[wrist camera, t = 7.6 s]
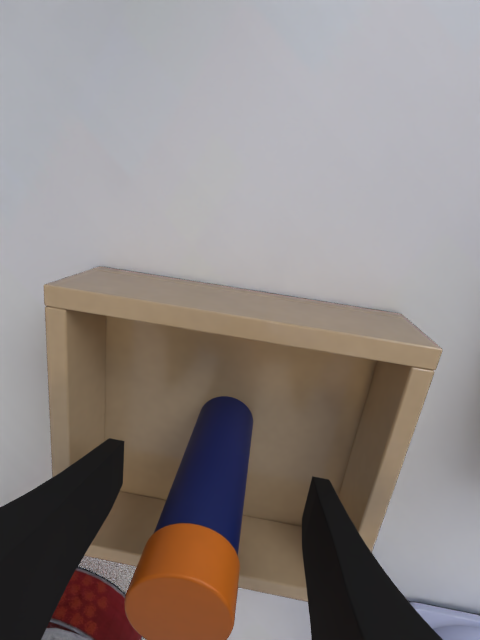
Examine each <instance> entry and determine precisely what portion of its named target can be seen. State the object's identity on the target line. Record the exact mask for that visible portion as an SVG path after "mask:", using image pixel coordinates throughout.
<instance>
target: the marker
mask: <svg viewBox="0 0 480 640" xmlns="http://www.w3.org/2000/svg"><path fill="white" fill-rule="evenodd" d="M252 430H253V416H252V413H251V411H250V410H249V408H248V407H247V406H246V405H245V404H244V403H243V402H241V401H240V400H238V399H236V398H233V397H228V396H220V397H216V398H213V399H211V400H209V401H208V402H206V403H205V404H204V406H203V407H202V409H201V411H200V413H199V416H198V419H197V421H196V424H195V427H194V429H193V432H192V434H191V437H190V440H189V442H188V445H187V447H186V450H185V453H184V455H183V458H182V460H181V463H180V466H179V468H178V471H177V474H176V476H175V479H174V481H173V484H172V487H171V489H170V492H169V494H168V497H167V500H166V502H165V505H164V508H163V510H162V513H161V515H160V518H159V521H158V523H157V526H156V528H155V531H154V534H153V535H152V536H151V537H150V538H149V539H148V541H147V543H146V545H145V547H144V550H143V552H142V555H141V557H140V560H139V562H138V565H137V568H136V570H135V573H134V575H133V578H132V580H131V583H130V585H129V588H128V590H127V593H126V596H125V613H126V616H127V618H128V620H129V622H130V624H131V625H132V627H133V628H134V629H135V630H136V631H137V632H138V633H139V634H140V635H141V636H142V637H143V638H145V639H146V640H227V638H228V637H229V635H230V633H231V631H232V629H233V626H234V619H235V610H236V600H237V591H238V581H239V572H240V562H239V559H238V550H239V542H240V533H241V524H242V516H243V507H244V498H245V490H246V481H247V473H248V464H249V455H250V447H251V438H252Z"/></svg>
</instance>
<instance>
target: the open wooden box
mask: <svg viewBox="0 0 480 640" xmlns="http://www.w3.org/2000/svg"><path fill="white" fill-rule="evenodd" d="M44 304H45V306H46V307H45V321H46V344H47V366H48V388H49V410H50V433H51V455H52V477H54V476H56V475H57V474H59V473H60V472H62V471H63V470H65V469H66V468H68V467H69V466H71V465H72V464H73V463H75V462H76V461H78V460H79V459H81V458H82V457H83V456H85V455H86V454H88V453H89V452H90V451H92V450H93V449H95V448H96V447H97V446H99V445H100V444H101V443H103V442H104V441H106V440H107V439H109V438H111V439H116V440H122V441H124V467H123V485H122V487H121V489H120V491H119V494H118V496H117V498H116V500H115V503H114V505H113V507H112V509H111V511H110V513H109V514H108V516H107V518H106V520H105V521H104V523H103V525H102V526H101V528H100V530H99V531H98V533H97V535H96V536H95V538H94V540H93V542H92V543H91V545H90V547H89V548H88V550H87V552H86V553H85V555H84V556H88V557H93V558H98V559H102V560H107V561H112V562H117V563H122V564H127V565H132V566H136V567H137V565H138V562H139V560H140V557H141V555H142V552H143V550H144V547H145V545H146V543H147V541H148V539H149V538H150V537H151V536H152V535H153V534H154V531H155V528H156V526H157V523H158V521H159V518H160V515H161V513H162V510H163V508H164V505H165V502H166V500H167V497H168V494H169V492H170V489H171V487H172V484H173V481H174V479H175V476H176V474H177V471H178V468H179V466H180V463H181V460H182V458H183V455H184V453H185V450H186V447H187V445H188V442H189V440H190V437H191V434H192V432H193V429H194V427H195V424H196V421H197V419H198V416H199V413H200V411H201V409H202V407H203V406H204V404H205V403H206V402H208V401H209V400H211V399H213V398H216V397H220V396H228V397H233V398H236V399H238V400H240V401H241V402H243V403H244V404H245V405H246V406H247V407H248V408H249V410H250V411H251V413H252V416H253V430H252V438H251V447H250V455H249V464H248V473H247V481H246V490H245V498H244V507H243V516H242V524H241V533H240V542H239V550H238V559H239V562H240V572H239V581H238V588H243V589H248V590H253V591H258V592H262V593H267V594H272V595H277V596H282V597H287V598H292V599H296V600H301V601H306V602H308V596H307V588H306V579H305V571H304V562H303V553H302V516H303V512H304V508H305V504H306V500H307V496H308V492H309V488H310V484H311V480H312V476H313V477H319V478H324V479H329V480H330V482H331V483H332V485H333V487H334V489H335V491H336V493H337V495H338V497H339V499H340V501H341V503H342V505H343V506H344V508H345V510H346V512H347V514H348V515H349V517H350V519H351V521H352V522H353V524H354V526H355V527H356V529H357V531H358V532H359V534H360V536H361V537H362V539H363V540H364V542H365V544H366V545H367V547H368V548H369V550H370V551H371V553H372V550H373V548H374V545H375V542H376V539H377V536H378V533H379V530H380V527H381V525H382V522H383V519H384V516H385V513H386V510H387V507H388V505H389V502H390V499H391V496H392V493H393V490H394V487H395V484H396V482H397V479H398V476H399V473H400V470H401V467H402V464H403V461H404V459H405V456H406V453H407V450H408V447H409V444H410V441H411V438H412V436H413V433H414V430H415V427H416V424H417V421H418V418H419V415H420V413H421V410H422V407H423V404H424V401H425V398H426V395H427V393H428V390H429V387H430V384H431V381H432V378H433V375H434V370H436V368H437V365H438V362H439V359H440V356H441V353H442V348H441V347H440V346H438V345H437V344H436V343H435V342H434V341H433V340H431V339H430V338H429V337H428V336H427V335H426V334H424V333H423V332H422V331H421V330H420V329H419V328H418V327H416V326H415V325H414V324H413V323H412V322H411V321H409V320H408V319H407V318H406V317H405V316H404V315H403V314H400V313H393V312H387V311H381V310H374V309H368V308H362V307H355V306H349V305H342V304H336V303H330V302H323V301H317V300H311V299H304V298H298V297H291V296H285V295H279V294H272V293H266V292H260V291H253V290H247V289H241V288H234V287H228V286H221V285H215V284H209V283H202V282H196V281H190V280H183V279H177V278H171V277H164V276H158V275H151V274H145V273H139V272H132V271H126V270H120V269H113V268H107V267H100V266H99V267H96V268H93V269H90V270H87V271H84V272H81V273H78V274H75V275H72V276H69V277H66V278H63V279H60V280H57V281H54V282H51V283H48V284H45V285H44Z"/></svg>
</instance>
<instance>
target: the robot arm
mask: <svg viewBox="0 0 480 640" xmlns="http://www.w3.org/2000/svg"><path fill="white" fill-rule="evenodd" d="M123 467H124V441H122V440H116V439H111V438H109V439H107V440H106V441H104V442H103V443H101V444H100V445H99V446H97V447H96V448H95V449H93V450H92V451H90V452H89V453H88V454H86V455H85V456H83V457H82V458H81V459H79V460H78V461H76V462H75V463H73V464H72V465H71V466H69V467H68V468H66V469H65V470H63V471H62V472H60V473H59V474H57V475H56V476H54V477H53V478H51V479H50V480H48V481H46V482H45V483H43V484H42V485H40V486H38V487H37V488H35V489H33V490H32V491H30V492H28V493H27V494H25V495H23V496H21V497H19V498H17V499H16V500H14V501H12V502H10V503H8V504H6V505H4V506H2V507H0V640H41V639H42V637H43V635H44V632H45V630H46V628H47V626H48V624H49V622H50V620H51V618H52V615H53V613H54V611H55V609H56V607H57V605H58V603H59V601H60V599H61V597H62V595H63V593H64V591H65V589H66V587H67V585H68V583H69V581H70V579H71V577H72V575H73V574H74V572H75V570H76V568H77V567H78V565H79V563H80V562H81V560H82V558H83V557H84V555H85V553H86V552H87V550H88V548H89V547H90V545H91V543H92V542H93V540H94V538H95V536H96V535H97V533H98V531H99V530H100V528H101V526H102V525H103V523H104V521H105V520H106V518H107V516H108V514H109V513H110V511H111V509H112V507H113V505H114V503H115V500H116V498H117V496H118V494H119V491H120V489H121V487H122V485H123ZM302 553H303V562H304V571H305V579H306V588H307V596H308V605H309V613H310V623H311V635H312V640H480V615H476V614H471V613H466V612H461V611H456V610H451V609H446V608H441V607H436V606H432V605H427V604H422V603H417V602H410V603H409V602H408V601H407V599H406V598H405V597H404V596H403V595H402V593H401V592H400V591H399V590H398V588H397V587H396V586H395V585H394V583H393V582H392V581H391V579H390V578H389V577H388V575H387V574H386V573H385V571H384V570H383V569H382V567H381V566H380V564H379V563H378V562H377V560H376V559H375V557H374V556H373V554H372V553H371V551H370V550H369V548H368V547H367V545H366V544H365V542H364V540H363V539H362V537H361V536H360V534H359V532H358V531H357V529H356V527H355V526H354V524H353V522H352V521H351V519H350V517H349V515H348V514H347V512H346V510H345V508H344V506H343V505H342V503H341V501H340V499H339V497H338V495H337V493H336V491H335V489H334V487H333V485H332V483H331V482H330V480H329V479H324V478H319V477H313V476H312V480H311V484H310V488H309V492H308V496H307V500H306V504H305V508H304V512H303V516H302Z"/></svg>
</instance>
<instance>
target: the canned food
mask: <svg viewBox="0 0 480 640" xmlns="http://www.w3.org/2000/svg"><path fill="white" fill-rule="evenodd" d="M125 596H126V595H125V594H124V593H123V592H122V591H120V590H119V589H118V588H117V587H116V586H114V585H113V584H112V583H110V582H108V581H107V580H105V579H104V578H102V577H100V576H98V575H96V574H93V573H91V572H89V571H87V570H83V569H80V568H76V570H75V572H74V574H73V575H72V577H71V579H70V581H69V583H68V585H67V587H66V589H65V591H64V593H63V595H62V597H61V599H60V601H59V603H58V605H57V607H56V609H55V611H54V613H53V615H52V618H51V620H50V622H49V624H48V626H47V628H46V630H45V632H44V635H43V637H42V639H41V640H141V639H142V636H141V635H140V634H139V633H138V632H137V631H136V630H135V629H134V628H133V627H132V625H131V624H130V622H129V620H128V618H127V616H126V613H125Z"/></svg>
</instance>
